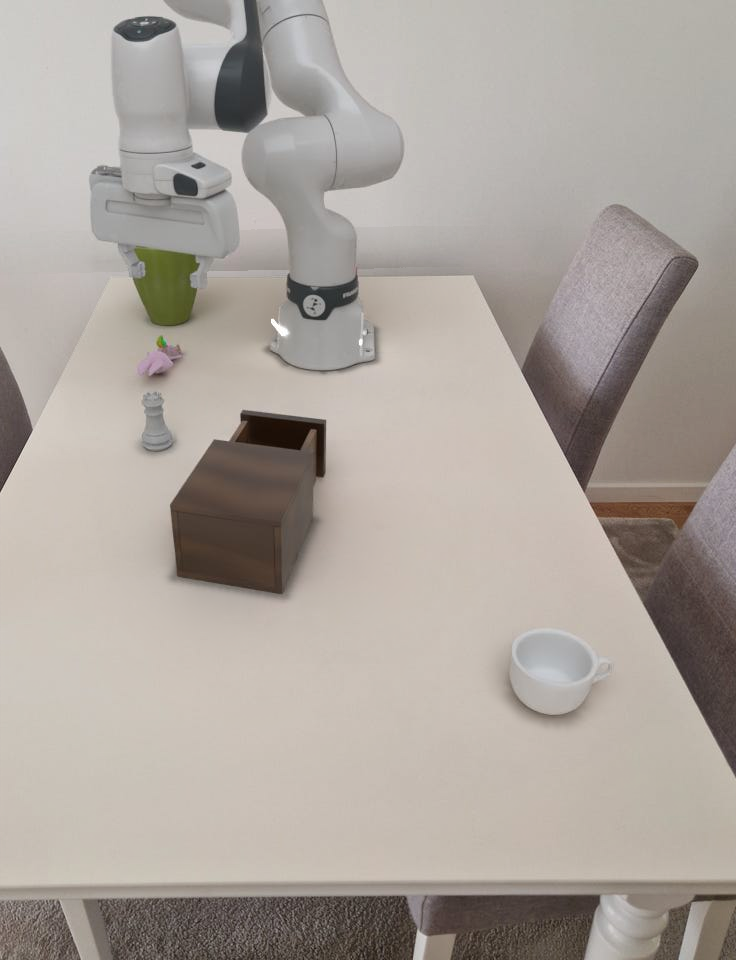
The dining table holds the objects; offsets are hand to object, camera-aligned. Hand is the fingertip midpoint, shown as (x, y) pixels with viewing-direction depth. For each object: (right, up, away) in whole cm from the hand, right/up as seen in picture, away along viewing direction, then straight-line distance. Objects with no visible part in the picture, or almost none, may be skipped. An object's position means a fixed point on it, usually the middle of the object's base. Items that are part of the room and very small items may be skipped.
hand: (167, 281), depth 110 cm
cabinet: (+11, -34, -8) cm, 36 cm away
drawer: (+14, -26, +2) cm, 30 cm away
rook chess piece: (-3, -21, +13) cm, 25 cm away
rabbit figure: (-6, -7, +34) cm, 35 cm away
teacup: (+42, -47, -28) cm, 68 cm away
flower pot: (-7, +5, +53) cm, 54 cm away
